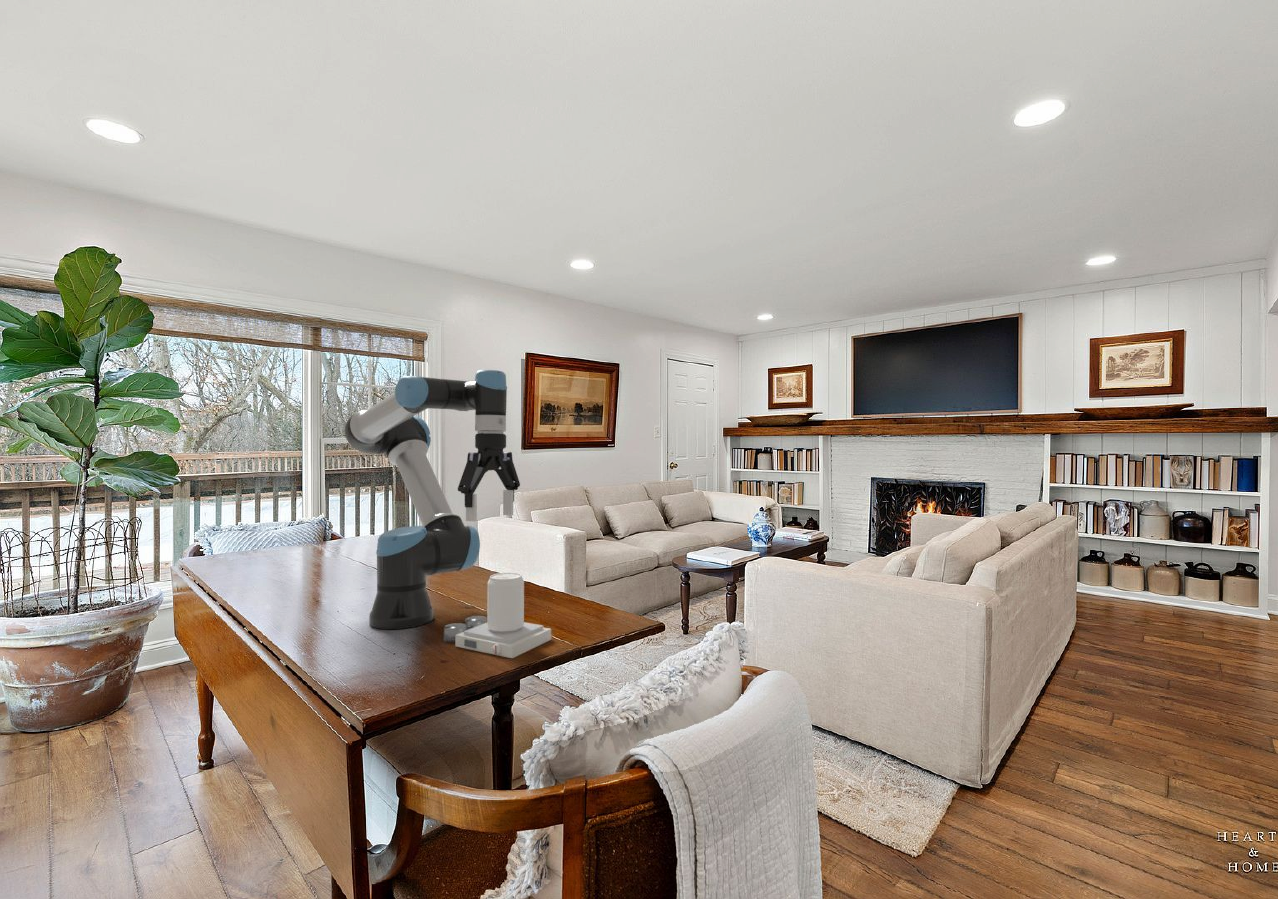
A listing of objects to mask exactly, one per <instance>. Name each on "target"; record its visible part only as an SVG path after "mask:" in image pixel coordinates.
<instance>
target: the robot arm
mask: <svg viewBox="0 0 1278 899" xmlns="http://www.w3.org/2000/svg"><path fill="white" fill-rule="evenodd" d="M507 390H508V386H507V375H506V373H505V372H504V371H502V370H497V369H495V370H494V369H480V370H477V371H476V373H475V377H474V380H460V379H459V380H457V379H449V378H448V379H445V378H435V377H426V376H419V375H405V376H404V375H403V376H402V377H400V378H399V379H398V380H397V383H396V384H395V388H394V392H392V393H391V394H390V395H388V396H386V397H385V398H384V399H382V400H380V401H379V402H377V403H376V404H374V405H373V406H371V407H370V408H368V409H362V410H359V411H357V412H355V413H354V414H352V415H351V416H350V417H349V418H348V420H347V421H346V422H345V426H344V437H345V439H346V441H347V442H348V444H349V445H350V446H351V447H352V448H354V449H355V450H356V451H358V452H361V453H363V454H369V455H386V457H387V458H388V459H387V460H388V462H390V464H392V466H396V467H397V469H398V471H399V474H400V476H401V479H402V482H403V483H404V486H405V488H406V490H407V492H408V495H409V497H410V500H411V502H412V504H413V507H414V509H415V511H416V514H417V517H418V518H419V522H420V524H421V525H412V526H403V527H398V528H393V529H390V530H387V531H384V532H383V533H381V534H380V535H379V537H378V538H377V544H376V545H377V546H376V552H375V554H376V594H375V595H376V596H375V598H374V601H373V604H372V608H371V611H370V613H369V618H368V619H369V620H368V621H369V626H371V627H373V628H375V629H381V630H400V629H409V628H415V627H419V626H422V625H425V624H427V623H429V622H431V621H432V620H433V619H434V608H433V606H432V604H431V599H430V596H429V593H428V590H427V576H433V575H440V574H445V573H452V572H459V571H460V572H461V571H462V570H467V569H470V568H471V567H473V566H474V565H475V564H476V562H477V560H478V559H479V558H478V557H479V555H480V548H481V540H480V535H479V532H478V531H477V529H476V527H474V526H472V525H465V524H464V522H463V520H462V518H461V516H460V515H459V514H458V515H457V514H454V513H453V511H452V509H451V508H450V507H451V506H450V505H449V503H448V500H447V499H446V496H445V494H444V492H443V490H442V489H443V488H442V487H441V485H440V482H439V481H438V479H437V478H438V477H436V475H435V471H434V470H433V468H432V465H431V463H430V461H429V459H428V457H427V454H428V451H429V449H430V446H431V442H432V440H431V431H430V428H429V425H428V424H427V423H426V421H425V420H424V419H423V418H421V417H420V416H416V415H418V414H420V413H422V412H423V411H425V410H427V409H435V410H438V409H439V410H455V411H459V412H468V411H475V414H474V415H475V416H474V422H475V423H474V431H475V432H477V433H476V434H475V435H474V437H475V439H474V448H476V449H477V452H472V451H471V452H467V457H466V458H467V459H466V460H467V461H466V465H465V467H464V469H463V473H462V475H461V478H460V480H459V483H458V486H457V491H458V492H460V493H461V494H463V495H464V508H465V521H466V522H477V521H478V520H477V518H478V517H477V516H478V514H477V513H478V512H477V510H478V509H477V508H478V506H477V504H478V502H477V501H478V500H477V499H478V497H477V496H478V495H477V493H475V492H476V490H477V488H478V487H479V484H480V483H481V481H482V479H483V478H484V476H485V474H486V473H487V472H489V471H494V472H495V473H496V475H497V476H498V477H499V479H500V481H501V483H502V485H503V486H504V488H505V489H503V492H502V495H503V496H502V502H503V503H502V515H503V516H509V517H512V516H514V502H515V491H517V490H518V489H519V488H520V486H521V482H520V479H519V477H518V473H517V471H516V467H515V464H514V461H513V453H512V452H511V451H504V449H506V448H507V435H506V433H504V432H507V394H508V393H507V392H508V391H507Z"/></svg>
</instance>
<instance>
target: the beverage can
mask: <svg viewBox="0 0 1278 899" xmlns="http://www.w3.org/2000/svg"><path fill="white" fill-rule="evenodd" d="M522 576H523V575H522V574H521V573H518V572H498V573H493V574H491V575H490V576H489V579H488V581H487V600H486V601H487V606H486V609H487V612H486V613H487V615H486V617H487V627H488V629H490V630H492V631H494V632H499V633H507V632H513V631H516V630H518V629H520V628H522V627H523V626H524V622H525V580H524V578H523V577H522Z"/></svg>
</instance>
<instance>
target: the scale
mask: <svg viewBox="0 0 1278 899" xmlns="http://www.w3.org/2000/svg"><path fill="white" fill-rule="evenodd" d="M551 640H552V628H550V627H544V625H542V624H537V623H532V622H525V621H524V626H523V627H522V628H520V629H518V630H516V631H513V632H507V633H499V632H494V631H492V630H490V629H488V627H487V623H485V624H482V625H479V626H477V627H474V628H471V629H469V630H466V631H464V632H462V633H460V634H457V635H455V642H454V643H455V647H457V648H462V649H466V650H470V651H475V652H481V653H485V654H489V655H493V656H494V655H495V656H500V657H505V658H509V659H514V658H516V657H518V656H520V655H522V654H525V653H526V652H528V651H531V650H532V649H534V648H537V647H539V646H541V645H544V644H545V643H547V642H549V641H551Z"/></svg>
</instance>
